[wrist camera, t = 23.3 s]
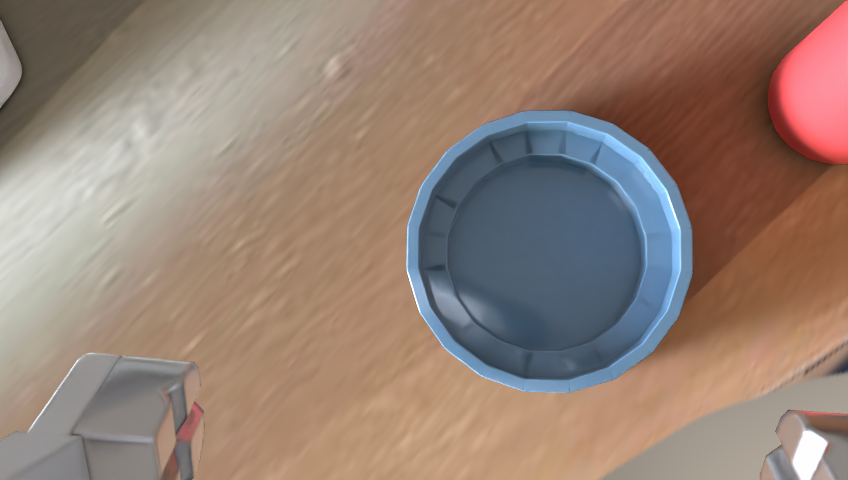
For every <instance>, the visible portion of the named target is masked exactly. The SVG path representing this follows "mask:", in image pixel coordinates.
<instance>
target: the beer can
mask: <svg viewBox="0 0 848 480" xmlns="http://www.w3.org/2000/svg"><path fill="white" fill-rule="evenodd" d="M767 96H768V107H769V115H770V117H771V120H772V122H773V124H774V126H775V129H776V131H777V133H778V134H779V135H780V136H781V137H782V139H783V140H784V141H785V142H786V143H787V144H788V145H789V146H790V147H791V148H792V149H793V150H795V151H796V152H798V153H800V154H802V155H803V156H805V157H807V158H808V159H810V160H814V161H818V162H823V163H827V164H831V165H833V164H848V0H846V1H845V2H844V3H843V4H842V5H841V6H840V7H839V8H837V9H836V10H835V11H834V12H833V13H832V14H831V15H830V16H829V17H828V18H826V19H825V20H824V21H823V22H822V23H821V24H820V25H819V26H818V27H817V28H815V29H814V30H813V31H812V32H811V33H810V34H809V35H808V36H807V37H806V38H804V39H803V40H802V41H801V42H800V43H799V44H798V45H797V46H796V47H795V48H793V49H792V50H791V51H790V52H789V53H788V54H787V55H786V56H785V57H784V58H783V59H782V60H781V62H780V64H779V65H778V67H777V68H776V70H775V71H774V73H773V74H772V78H771V82H770V86H769V90H768V94H767Z"/></svg>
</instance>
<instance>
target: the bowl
mask: <svg viewBox="0 0 848 480" xmlns="http://www.w3.org/2000/svg"><path fill="white" fill-rule="evenodd" d="M691 227H692V224H691V222H690V219H689V216H688V213H687V210H686V207H685V205H684V202H683V199H682V196H681V193H680V190H679V187H678V186H677V183H676V182H675V181H674V179H673V178H672V177H671V175H670V174H669V173H668V172H667V170H666V169H665V168H664V166H663V165H662V164H661V162H660V161H659V160H658V159H657V157H656V156H655V155H654V153H653V152H652V151H651V150H650V149H649V148H648V147H647V146H645V145H644V144H642V143H641V142H640V141H638V140H637V139H635V138H634V137H632V136H631V135H629V134H628V133H626V132H625V131H624V130H622V129H621V128H619V127H618V126H616V125H615V124H612V123H611V122H608V121H604V120H601V119H598V118H595V117H591V116H588V115H585V114H581V113H578V112H575V111H572V110H527V111H522V112H519V113H516V114H513V115H510V116H507V117H504V118H501V119H498V120H494V121H491V122H488V123H485V124H484V125H482V126H480V127H479V128H477V129H476V130H475V131H473V132H472V133H470V134H469V135H468V136H466V137H465V138H463V139H462V140H461V141H459V142H458V143H456V144H455V145H454V146H452V147H451V148H449V149H448V151H446V153H445V154H444V155H443V157H442V158H441V159H440V161H439V162H438V163H437V165H436V166H435V167H434V169H433V170H432V171H431V173H430V174H429V175H428V177H427V178H426V179H425V181H424V182H423V184H422V185H421V188H420V191H419V193H418V196H417V199H416V202H415V205H414V208H413V211H412V214H411V217H410V220H409V223H408V227H407V269H408V270H407V273H408V276H409V279H410V283H411V286H412V289H413V293H414V296H415V299H416V302H417V306H418V309H419V311H420V314H421V315H422V317H423V318H424V319H425V321H426V322H427V324H428V325H429V327H430V328H431V330H432V331H433V332H434V334H435V335H436V337H437V338H438V340H439V341H440V342H441V344H442V345H443V347H444V348H446V350H447V351H448V352H450V353H451V354H452V355H454V356H455V357H456V358H458V359H459V360H460V361H462V362H463V363H464V364H465V365H467V366H468V367H469V368H471V369H472V370H473V371H475V372H476V373H477V374H479V375H480V376H481V375H482V377H484V378H487V379H490V380H493V381H496V382H498V383H501V384H504V385H507V386H510V387H513V388H515V389H518V390H521V391H525V392H557V393H570V392H574V391H578V390H581V389H584V388H588V387H591V386H595V385H598V384H601V383H605V382H608V381H611V380H613V379H616V378H617V377H619V376H620V375H622V374H623V373H624V372H626V371H627V370H629V369H630V368H632V367H633V366H634V365H636V364H637V363H639V362H640V361H642V360H643V359H644V358H646V357H647V356H649V355H650V354H651V353H652V352H653V351H654V350H655V349H656V347H657V346H658V345H659V343H660V342H661V341H662V339H663V338H664V336H665V335H666V334H667V332H668V331H669V330H670V328H671V327H672V326H673V324H674V323H675V322H676V320H677V319H678V318H679V315H680V313H681V310H682V307H683V303H684V300H685V297H686V294H687V291H688V288H689V285H690V282H691V279H692V275H693V229H692V228H691Z"/></svg>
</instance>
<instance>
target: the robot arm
mask: <svg viewBox="0 0 848 480" xmlns="http://www.w3.org/2000/svg"><path fill="white" fill-rule="evenodd" d="M21 74H22V67H21V63H20V60H19V58H18V56H17V54H16V51H15V49H14V47H13V45H12V43H11V41H10V39H9V37H8V35H7V33H6V30H5V28H4V26H3V24H2V22H1V20H0V107H1V106H2V105H3V104H4V103H5V101H6V100H7V99H8V98H9V96H10V95H11V94H12V92H13V91H14V90H15V88H16V87H17V85H18V83H19V81H20V78H21ZM200 388H201V379H200V372H199V367H198V366H197V364H196V363H195V362H186V361H177V360H167V359H157V358H147V357H137V356H128V355H125V356H121V355H113V354H102V353H92V352H89V353H87V354H85V355H83V356H81V357H80V358H79V359H78V361H77V362H76V363H75V365H74V366H73V368H72V369H71V371H70V372H69V373H68V375H67V376H66V378H65V379H64V381H63V382H62V383H61V385H60V386H59V388H58V389H57V391H56V392H55V393H54V395H53V396H52V398H51V399H50V401H49V402H48V403H47V405H46V406H45V408H44V409H43V411H42V412H41V413H40V415H39V416H38V418H37V419H36V421H35V422H34V423H33V425H32V426H31V428H30V429H29V431H28V432H25V431H16V432H14V433H12V434H10V435H8V436H6V437H4V438H2V439H1V440H0V480H192V479H193V478H194V475H195V473H196V470H197V467H198V465H199V462H200V457H201V452H202V448H203V443H204V428H205V423H204V411H203V410H202V409H201V407H200V406H199V405H198V404H197V403H196V402H195V399H196V397H197V395H198V392H199V390H200ZM775 432H776V434H777V436H778V438H779V440H780V442H781V445H780V446H779V447H777V448H776V449H774V450H773V451H772V452H770V453H769V454H768V455H766V457H765V460H764V463H763V466H762V469H761V472H760V480H848V414H840V413H827V412H813V411H799V410H787V412H786V413H785V414H784V415H783V416H782V417H781V419H780V421H779V423H778V426H777V428H776V431H775Z"/></svg>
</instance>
